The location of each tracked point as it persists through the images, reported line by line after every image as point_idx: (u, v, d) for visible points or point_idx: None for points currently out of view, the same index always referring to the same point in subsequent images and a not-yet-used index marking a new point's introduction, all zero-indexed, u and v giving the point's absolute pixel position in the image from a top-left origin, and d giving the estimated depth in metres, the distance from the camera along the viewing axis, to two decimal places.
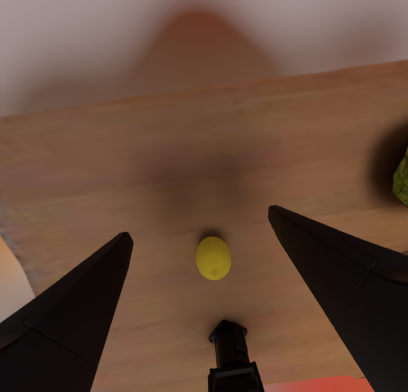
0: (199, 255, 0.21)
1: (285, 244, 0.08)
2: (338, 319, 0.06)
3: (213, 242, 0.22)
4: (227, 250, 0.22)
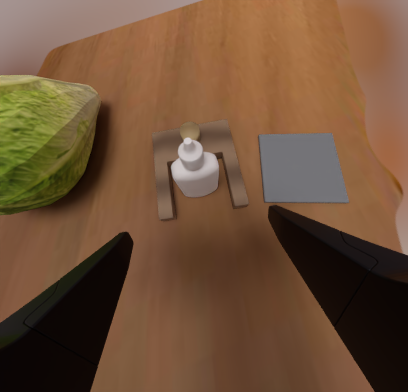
0: None
1: (285, 244, 0.08)
2: (338, 320, 0.06)
3: None
4: None
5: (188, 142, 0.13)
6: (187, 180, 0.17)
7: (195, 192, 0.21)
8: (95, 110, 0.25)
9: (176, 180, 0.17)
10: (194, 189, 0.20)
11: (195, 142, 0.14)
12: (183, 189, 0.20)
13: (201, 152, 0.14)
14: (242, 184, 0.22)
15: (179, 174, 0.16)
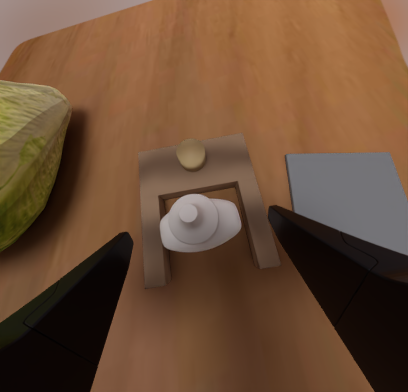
0: None
1: (285, 244, 0.08)
2: (338, 319, 0.06)
3: None
4: None
5: (190, 216, 0.05)
6: None
7: None
8: (60, 121, 0.18)
9: None
10: None
11: (204, 202, 0.07)
12: None
13: (216, 224, 0.07)
14: (269, 233, 0.15)
15: (173, 243, 0.09)
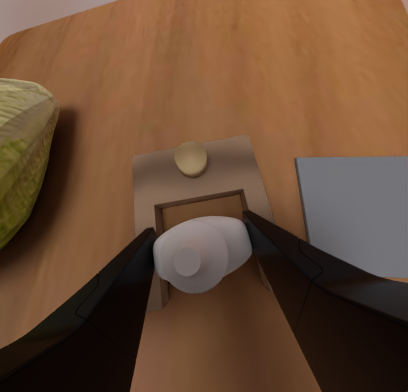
0: None
1: (255, 249, 0.08)
2: (295, 327, 0.06)
3: None
4: None
5: (189, 267, 0.04)
6: None
7: None
8: (45, 121, 0.16)
9: None
10: None
11: (208, 233, 0.05)
12: None
13: (225, 264, 0.05)
14: None
15: None
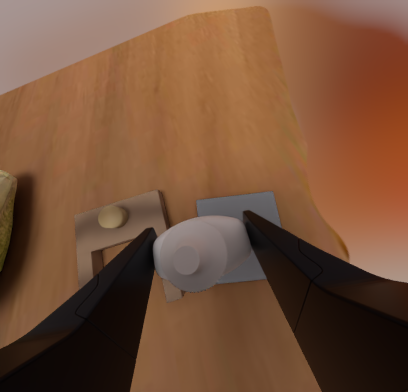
0: None
1: (255, 249, 0.08)
2: (295, 327, 0.06)
3: None
4: None
5: (188, 265, 0.04)
6: None
7: None
8: (4, 198, 0.22)
9: None
10: None
11: (207, 232, 0.05)
12: None
13: (224, 263, 0.05)
14: None
15: None
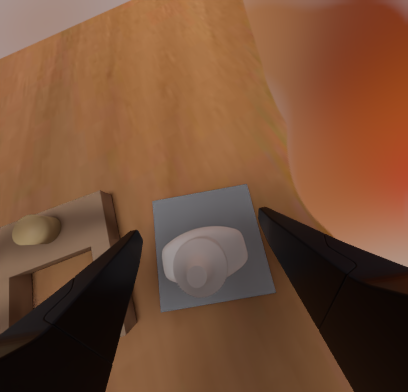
0: None
1: (273, 246, 0.08)
2: (321, 322, 0.06)
3: None
4: None
5: (198, 281, 0.05)
6: None
7: None
8: None
9: None
10: None
11: (211, 249, 0.06)
12: None
13: (225, 274, 0.06)
14: None
15: None
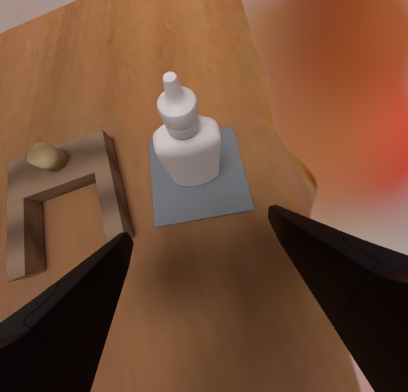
0: None
1: (285, 244, 0.08)
2: (338, 320, 0.06)
3: None
4: None
5: (170, 79, 0.07)
6: (175, 156, 0.12)
7: (189, 178, 0.16)
8: None
9: (160, 156, 0.12)
10: (187, 173, 0.15)
11: (184, 88, 0.09)
12: (172, 173, 0.15)
13: (193, 104, 0.09)
14: (117, 212, 0.17)
15: (163, 145, 0.11)
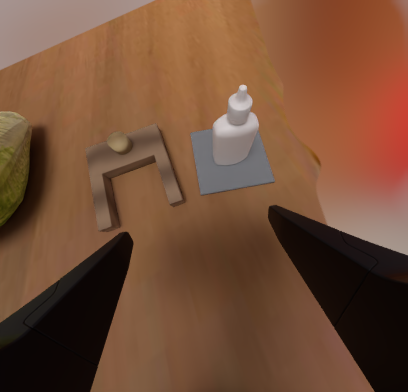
0: None
1: (285, 244, 0.08)
2: (337, 319, 0.06)
3: None
4: None
5: (243, 89, 0.14)
6: (229, 137, 0.18)
7: (229, 157, 0.22)
8: (23, 135, 0.25)
9: (218, 137, 0.18)
10: (230, 152, 0.21)
11: None
12: (219, 152, 0.21)
13: (251, 102, 0.15)
14: (174, 182, 0.23)
15: (223, 130, 0.17)
